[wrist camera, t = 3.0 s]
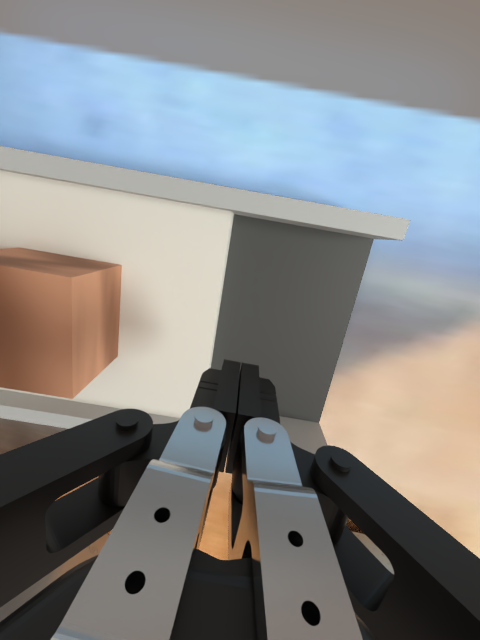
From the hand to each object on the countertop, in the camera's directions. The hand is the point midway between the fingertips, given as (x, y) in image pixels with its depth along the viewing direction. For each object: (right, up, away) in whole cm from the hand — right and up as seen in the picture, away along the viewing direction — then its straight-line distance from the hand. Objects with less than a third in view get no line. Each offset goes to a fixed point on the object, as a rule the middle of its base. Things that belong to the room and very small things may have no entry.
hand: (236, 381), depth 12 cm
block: (-10, +4, +6) cm, 12 cm away
